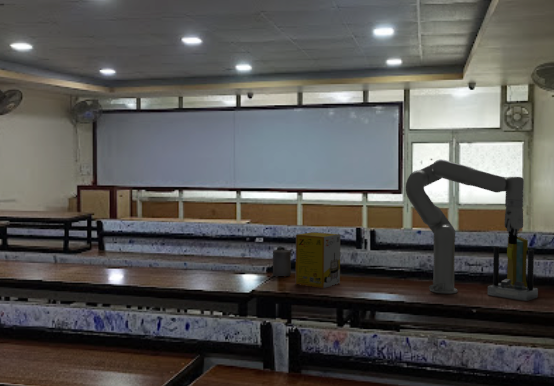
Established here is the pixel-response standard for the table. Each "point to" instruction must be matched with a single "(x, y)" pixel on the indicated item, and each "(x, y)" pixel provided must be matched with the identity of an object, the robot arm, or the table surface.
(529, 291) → the gray double-post stand
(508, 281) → the paddle
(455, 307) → the table surface
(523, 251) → the book
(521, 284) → the paddle
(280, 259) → the gray lidded canister
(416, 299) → the table surface
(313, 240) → the packaging box
